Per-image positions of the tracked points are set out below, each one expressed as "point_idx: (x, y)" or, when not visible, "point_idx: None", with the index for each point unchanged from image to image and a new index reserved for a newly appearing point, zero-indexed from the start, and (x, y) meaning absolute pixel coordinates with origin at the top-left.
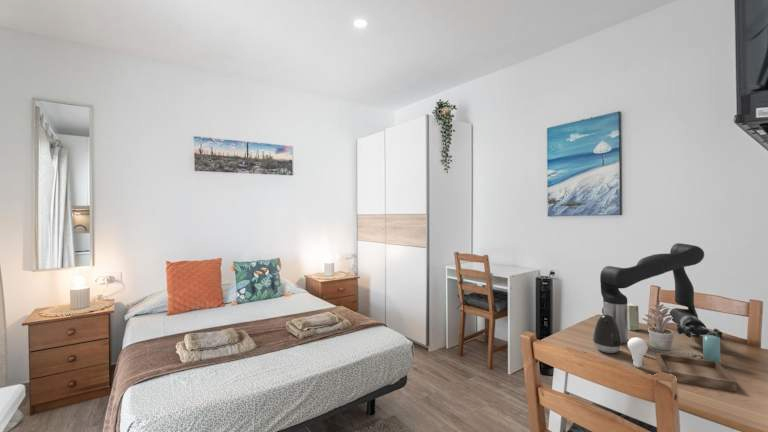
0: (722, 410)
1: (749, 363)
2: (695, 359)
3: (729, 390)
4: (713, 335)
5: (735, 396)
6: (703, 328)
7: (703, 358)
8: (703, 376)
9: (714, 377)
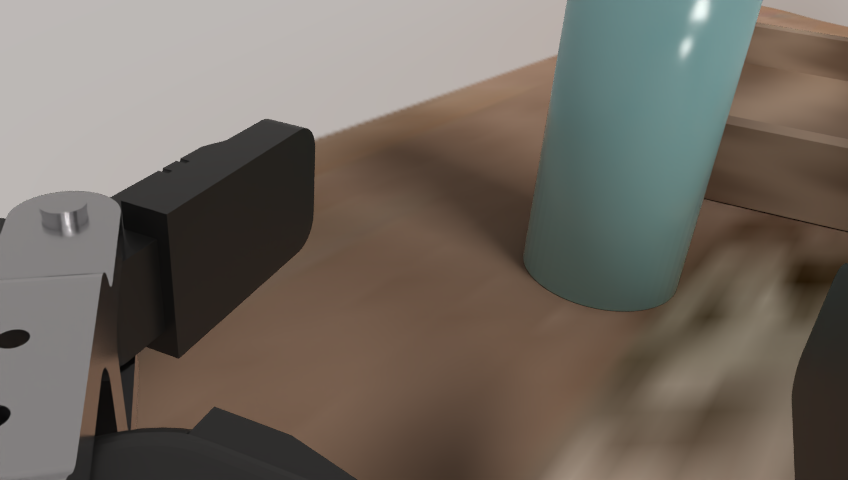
0: (804, 27)
1: None
2: (833, 137)
3: None
4: (197, 259)
5: None
6: (86, 447)
7: (688, 248)
8: (842, 38)
9: (743, 93)
